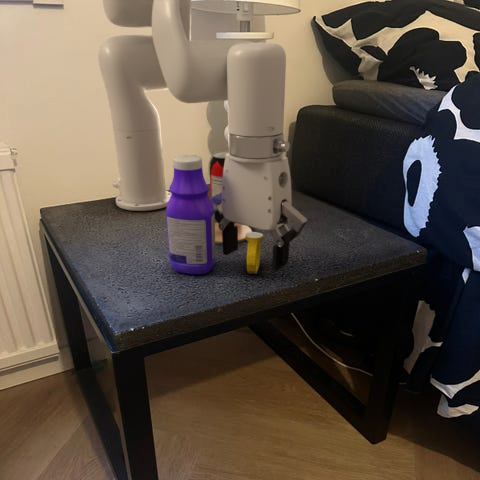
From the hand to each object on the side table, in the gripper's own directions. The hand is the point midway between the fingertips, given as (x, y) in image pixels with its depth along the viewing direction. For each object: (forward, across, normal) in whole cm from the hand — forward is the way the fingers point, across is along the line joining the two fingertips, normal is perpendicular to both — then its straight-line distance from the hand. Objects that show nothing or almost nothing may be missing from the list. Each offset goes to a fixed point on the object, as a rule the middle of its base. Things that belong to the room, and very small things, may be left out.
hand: (254, 259), depth 75 cm
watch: (+2, 0, 0) cm, 2 cm away
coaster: (+2, +14, -10) cm, 17 cm away
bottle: (+2, +8, +5) cm, 10 cm away
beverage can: (+2, +20, -18) cm, 27 cm away
